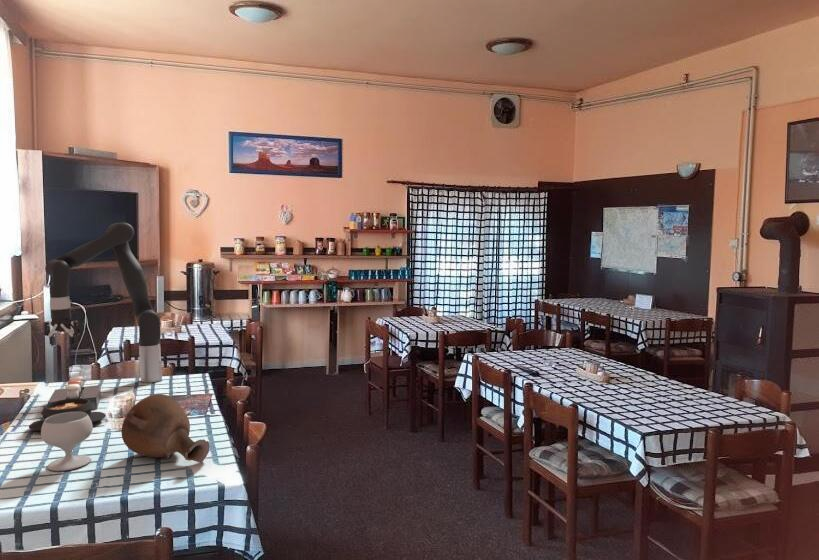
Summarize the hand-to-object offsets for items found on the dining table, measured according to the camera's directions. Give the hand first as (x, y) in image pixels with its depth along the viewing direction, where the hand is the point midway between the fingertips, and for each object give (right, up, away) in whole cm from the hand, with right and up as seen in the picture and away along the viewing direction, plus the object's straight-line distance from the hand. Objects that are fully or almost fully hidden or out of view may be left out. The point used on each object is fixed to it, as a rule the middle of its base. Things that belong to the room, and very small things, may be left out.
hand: (63, 345), depth 265 cm
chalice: (+42, -30, -71) cm, 88 cm away
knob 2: (+13, -20, -16) cm, 29 cm away
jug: (+71, -29, -67) cm, 102 cm away
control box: (+10, -24, -9) cm, 27 cm away
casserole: (+21, -26, -35) cm, 48 cm away
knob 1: (+8, -19, -3) cm, 21 cm away
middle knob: (+10, -20, -9) cm, 24 cm away
